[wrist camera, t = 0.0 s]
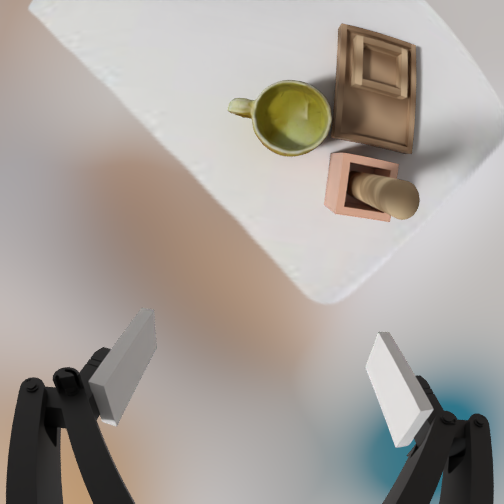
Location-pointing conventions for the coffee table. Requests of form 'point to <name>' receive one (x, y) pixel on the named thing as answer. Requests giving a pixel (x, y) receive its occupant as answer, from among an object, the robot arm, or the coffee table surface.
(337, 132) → the tray
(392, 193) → the dowel
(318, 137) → the mug
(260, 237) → the coffee table surface
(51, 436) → the robot arm
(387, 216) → the pink hollow box
